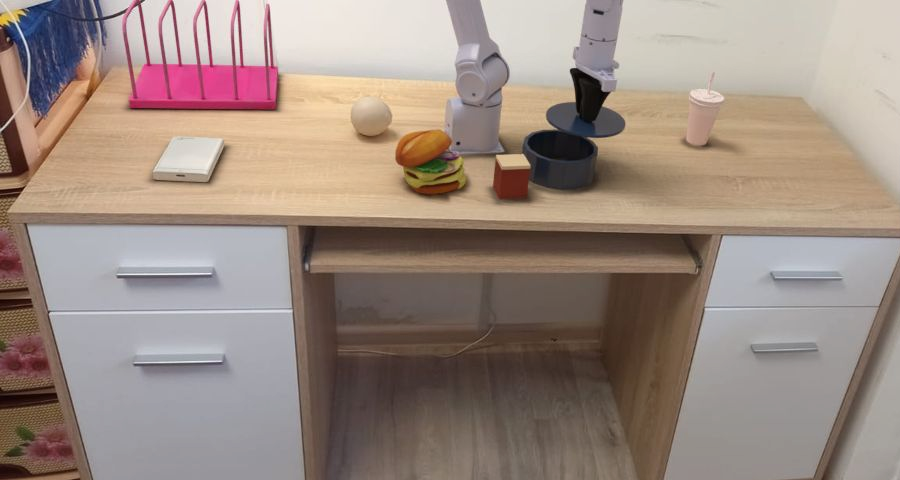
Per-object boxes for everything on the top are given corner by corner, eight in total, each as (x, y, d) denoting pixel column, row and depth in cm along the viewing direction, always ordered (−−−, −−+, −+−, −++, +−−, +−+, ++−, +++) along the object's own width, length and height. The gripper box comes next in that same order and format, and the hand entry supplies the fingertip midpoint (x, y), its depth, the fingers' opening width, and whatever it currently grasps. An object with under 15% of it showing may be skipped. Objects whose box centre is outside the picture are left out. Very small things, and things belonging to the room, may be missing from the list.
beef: (498, 201, 131) (502, 166, 128) (492, 189, 135) (495, 154, 131) (526, 200, 133) (530, 165, 129) (519, 188, 136) (523, 153, 132)
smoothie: (716, 141, 158) (734, 71, 151) (708, 154, 153) (726, 82, 146) (683, 133, 160) (699, 63, 152) (674, 145, 155) (691, 73, 148)
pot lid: (559, 142, 130) (563, 116, 128) (535, 108, 141) (538, 83, 138) (636, 140, 134) (642, 114, 131) (607, 107, 144) (611, 82, 142)
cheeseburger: (459, 203, 129) (447, 144, 124) (395, 205, 132) (381, 148, 127) (474, 173, 138) (463, 117, 132) (413, 176, 140) (400, 122, 135)
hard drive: (172, 135, 137) (151, 170, 126) (224, 138, 137) (207, 172, 127) (174, 144, 137) (153, 180, 127) (224, 147, 138) (208, 182, 128)
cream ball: (394, 141, 146) (395, 105, 142) (352, 142, 144) (352, 106, 140) (389, 125, 151) (390, 90, 147) (348, 126, 149) (348, 90, 146)
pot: (532, 194, 134) (536, 163, 131) (511, 159, 144) (515, 130, 141) (603, 190, 138) (608, 161, 134) (578, 157, 147) (583, 128, 144)
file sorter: (145, 72, 161) (132, -10, 152) (278, 74, 166) (273, -5, 157) (129, 109, 147) (114, 21, 138) (275, 110, 152) (270, 25, 143)
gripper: (641, 51, 124) (624, 134, 132) (606, 20, 136) (593, 98, 143) (597, 51, 123) (583, 135, 130) (565, 20, 134) (554, 98, 142)
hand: (585, 116), depth 137 cm, fingers closed on pot lid, 2 cm apart
